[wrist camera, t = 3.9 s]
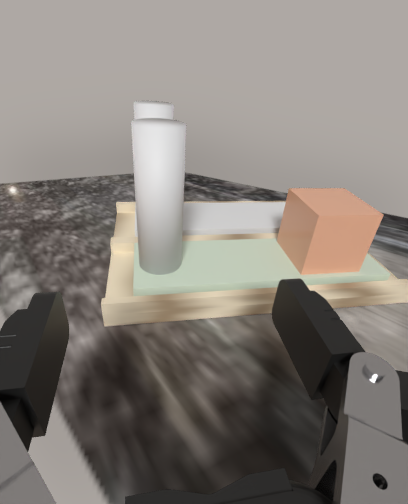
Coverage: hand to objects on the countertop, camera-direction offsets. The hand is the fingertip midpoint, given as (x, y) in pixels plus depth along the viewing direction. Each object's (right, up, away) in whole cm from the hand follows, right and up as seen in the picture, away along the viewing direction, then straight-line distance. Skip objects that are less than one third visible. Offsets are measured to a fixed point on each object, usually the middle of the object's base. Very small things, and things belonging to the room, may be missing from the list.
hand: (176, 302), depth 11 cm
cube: (+10, +2, +14) cm, 18 cm away
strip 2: (+6, +1, +14) cm, 15 cm away
